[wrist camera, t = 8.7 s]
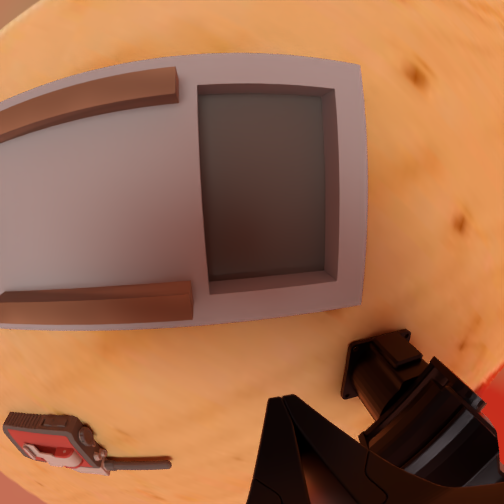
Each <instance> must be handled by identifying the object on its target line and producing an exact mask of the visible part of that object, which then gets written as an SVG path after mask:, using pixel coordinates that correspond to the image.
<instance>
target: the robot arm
mask: <svg viewBox="0 0 504 504" xmlns="http://www.w3.org/2000/svg"><path fill="white" fill-rule="evenodd" d="M410 336H411V332H410V331H409V330H407V329H405V330H401V331H397V332H393V333H389V334H385V335H381V336H377V337H374V338H370V339H365V340H361V341H356V342H353V343H352V344H350V346H349V349H348V356H347V362H346V368H345V374H344V380H343V385H342V391H341V397H342V398H343V399H349V398H353V397H357V396H358V397H359V398H360V400H361V401H362V403H363V404H364V406H365V407H366V409H367V410H368V411H369V413H370V414H371V416H372V417H373V419H374V420H375V422H374V423H373V424H372V425H371V426H370V427H369V428H368V429H367V430H366V431H363V432H362V433H361V434H360V435H359V436H358V437H359V441H360V443H359V442H357V441H356V440H355V439H353V438H352V437H350V436H349V435H348V434H346V433H345V432H343V431H342V430H341V429H339V428H338V427H337V426H335V425H334V424H332V423H331V422H330V421H328V420H327V419H326V418H324V417H323V416H322V415H321V414H319V413H318V412H317V411H315V410H314V409H313V408H311V407H310V406H309V405H308V404H306V403H305V402H304V401H303V400H301V399H300V398H299V397H297V396H296V395H294V394H291V395H285V396H282V398H281V397H273V398H269V399H268V402H267V408H266V413H265V418H264V424H263V429H262V434H261V439H260V445H259V450H258V455H257V460H256V464H255V469H254V474H253V479H252V483H251V487H250V491H249V495H248V499H247V502H246V504H504V465H503V464H502V463H501V462H500V460H499V447H498V440H497V432H496V430H495V428H494V426H493V425H492V423H491V422H490V420H489V419H488V418H487V417H486V416H485V415H484V414H483V413H482V412H481V410H482V409H483V408H484V406H485V405H486V404H487V403H485V402H484V401H483V400H482V399H481V398H480V397H479V396H478V395H477V394H476V393H475V392H474V391H473V390H472V389H471V388H470V387H469V386H468V385H466V384H465V383H464V382H463V381H462V380H461V379H460V378H459V377H458V376H456V375H455V374H454V373H453V372H452V371H451V370H450V369H448V368H447V367H446V366H445V365H444V364H443V363H442V362H440V361H439V360H438V359H437V358H436V357H435V356H434V357H433V358H432V359H431V361H430V363H429V364H428V363H427V362H425V361H424V360H423V359H422V357H423V355H422V354H421V353H420V352H419V351H418V350H417V349H416V348H415V347H414V346H413V345H411V344H410V343H409V340H410ZM355 347H356V348H355ZM354 348H355V349H354Z"/></svg>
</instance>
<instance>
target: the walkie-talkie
mask: <svg viewBox="0 0 504 504" xmlns="http://www.w3.org/2000/svg"><path fill="white" fill-rule="evenodd" d="M3 431H4V433H5V434H6V436H7V437H8V438H9V439H10V440H11V442H12V443H13V444H14V445H15V446H16V447H17V448H18V450H19V451H20V452H21V453H22V454H23V455H24V456H25V457H28V458H30V459H33V460H36V461H42V462H48V463H49V464H50V465H52V466H58V467H63V466H65V467H66V468H71V469H73V470H75V471H78V472H80V473H90V474H101V475H106V476H109V475H110V471H117V470H156V469H170V468H171V466H172V465H171V462H170V461H168V460H163V461H131V462H126V461H115V460H108V459H107V458H106V457H105V456H107V451H106V450H103V449H101V448H100V446H99V445H98V444H97V443H96V441H95V440H94V438H93V433H92V431H91V430H90V429H89V428H88V427H84V426H83V424H82V423H81V422H80V420H79V419H78V418H77V417H75V416H63V415H41V414H40V415H38V414H36V415H35V414H28V413H27V414H25V413H24V414H23V413H16V412H15V413H14V412H10V413H9V415H8V417H7V418H6V420H5V422H4V424H3Z"/></svg>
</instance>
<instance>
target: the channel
mask: <svg viewBox="0 0 504 504" xmlns="http://www.w3.org/2000/svg"><path fill="white" fill-rule="evenodd" d="M174 103H179V78H178V74H177V70H176V66H174V67H164V68H156V69H149V70H142V71H136V72H130V73H125V74H119V75H114V76H109V77H105V78H100V79H96V80H92V81H88V82H84V83H80V84H76V85H73V86H69V87H66V88H62V89H59V90H56V91H52V92H49V93H46V94H43V95H40V96H38V97H35V98H32V99H29V100H27V101H24V102H21V103H19V104H16V105H14V106H11V107H9V108H7V109H4V110H2V111H0V143H3V142H5V141H8V140H11V139H14V138H16V137H19V136H22V135H25V134H28V133H31V132H35V131H38V130H41V129H45V128H48V127H51V126H55V125H59V124H62V123H66V122H70V121H74V120H78V119H83V118H87V117H92V116H96V115H101V114H106V113H111V112H117V111H122V110H128V109H135V108H141V107H149V106H156V105H165V104H174ZM193 307H194V302H193V295H192V286H191V280H190V281H177V282H164V283H151V284H136V285H122V286H106V287H89V288H72V289H52V290H30V291H5V292H4V293H2V294H1V295H0V323H5V324H33V325H100V324H131V323H152V322H169V321H184V320H193Z"/></svg>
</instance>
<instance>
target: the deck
mask: <svg viewBox="0 0 504 504" xmlns="http://www.w3.org/2000/svg"><path fill="white" fill-rule="evenodd" d="M174 66H176V70H177V74H178V78H179V103H174V104H165V105H156V106H149V107H141V108H135V109H128V110H122V111H117V112H111V113H106V114H101V115H96V116H92V117H87V118H83V119H78V120H74V121H70V122H66V123H62V124H59V125H55V126H51V127H48V128H45V129H41V130H38V131H35V132H31V133H28V134H25V135H22V136H19V137H16V138H14V139H11V140H8V141H5V142H3V143H0V295H1V294H2V293H4V292H5V291H30V290H52V289H72V288H89V287H106V286H122V285H136V284H151V283H164V282H177V281H190V280H191V286H192V295H193V302H194V307H193V320H184V321H169V322H152V323H131V324H100V325H33V324H5V323H0V328H4V329H23V330H58V331H97V330H134V329H156V328H173V327H188V326H201V325H212V324H223V323H234V322H243V321H253V320H261V319H270V318H278V317H285V316H293V315H300V314H307V313H314V312H321V311H327V310H333V309H340V308H346V307H351V306H357V305H361V301H362V291H363V281H364V269H365V256H366V238H367V211H368V163H367V136H366V120H365V107H364V95H363V86H362V77H361V69H360V65H357V64H352V63H347V62H341V61H335V60H328V59H321V58H313V57H304V56H294V55H282V54H264V53H212V54H194V55H181V56H171V57H162V58H155V59H148V60H141V61H135V62H129V63H124V64H119V65H114V66H109V67H104V68H100V69H96V70H92V71H88V72H84V73H80V74H77V75H73V76H70V77H66V78H63V79H60V80H57V81H54V82H51V83H48V84H45V85H42V86H39V87H36V88H34V89H31V90H28V91H26V92H23V93H21V94H18V95H16V96H13V97H11V98H9V99H6V100H4V101H2V102H0V111H2V110H4V109H7V108H9V107H11V106H14V105H16V104H19V103H21V102H24V101H27V100H29V99H32V98H35V97H38V96H40V95H43V94H46V93H49V92H52V91H56V90H59V89H62V88H66V87H69V86H73V85H76V84H80V83H84V82H88V81H92V80H96V79H100V78H105V77H109V76H114V75H119V74H125V73H130V72H136V71H142V70H149V69H156V68H164V67H174Z"/></svg>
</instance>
